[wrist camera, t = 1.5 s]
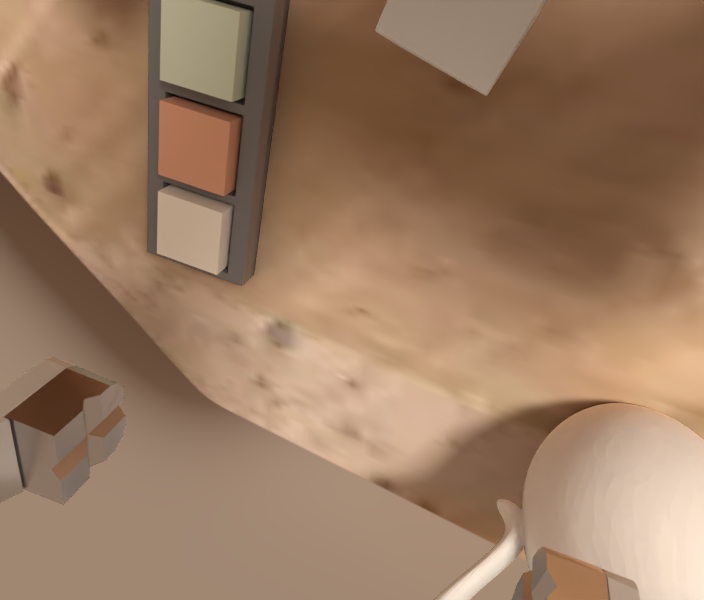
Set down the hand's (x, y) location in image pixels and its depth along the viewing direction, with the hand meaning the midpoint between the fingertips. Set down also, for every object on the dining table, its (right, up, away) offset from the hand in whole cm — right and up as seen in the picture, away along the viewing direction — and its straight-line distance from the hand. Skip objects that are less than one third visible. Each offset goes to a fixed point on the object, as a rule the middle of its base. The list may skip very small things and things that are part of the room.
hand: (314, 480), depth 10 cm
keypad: (-11, +18, +39) cm, 44 cm away
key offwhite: (-14, +10, +42) cm, 45 cm away
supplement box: (+10, +25, +28) cm, 38 cm away
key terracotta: (-12, +17, +38) cm, 43 cm away
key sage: (-10, +24, +33) cm, 42 cm away
